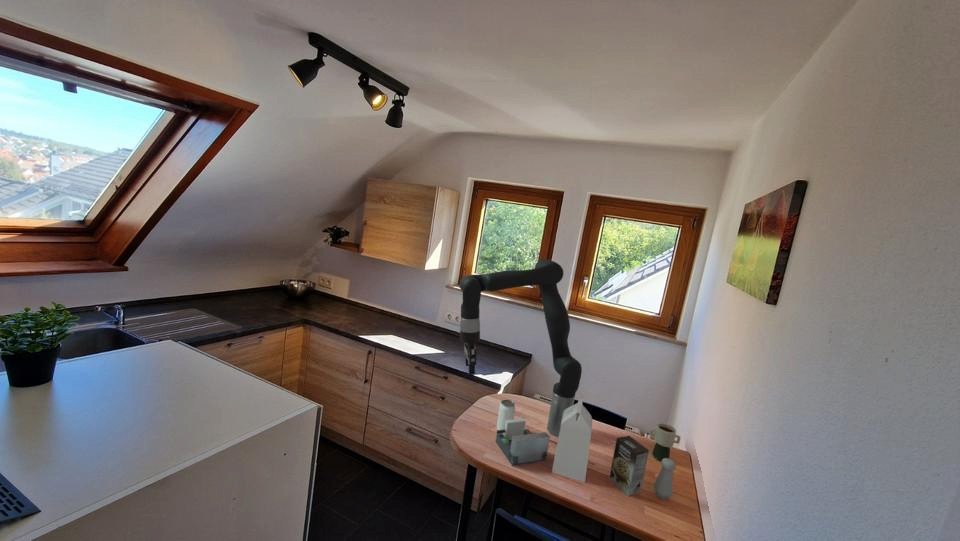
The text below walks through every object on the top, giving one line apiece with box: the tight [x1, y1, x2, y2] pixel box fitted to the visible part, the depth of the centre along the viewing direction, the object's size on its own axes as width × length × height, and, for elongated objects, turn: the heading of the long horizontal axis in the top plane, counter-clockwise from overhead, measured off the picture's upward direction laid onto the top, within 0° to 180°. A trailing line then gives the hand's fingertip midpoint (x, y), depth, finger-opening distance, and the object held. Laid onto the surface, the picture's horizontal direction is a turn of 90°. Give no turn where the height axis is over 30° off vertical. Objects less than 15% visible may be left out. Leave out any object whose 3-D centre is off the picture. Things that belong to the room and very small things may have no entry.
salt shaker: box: [653, 458, 676, 500], centre depth 132 cm, size 6×6×13 cm
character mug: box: [649, 422, 681, 461], centre depth 154 cm, size 11×7×13 cm, turn 68°
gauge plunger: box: [496, 417, 526, 441], centre depth 153 cm, size 12×2×8 cm, turn 112°
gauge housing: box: [495, 428, 551, 467], centre depth 148 cm, size 14×15×10 cm
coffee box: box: [608, 435, 650, 497], centre depth 134 cm, size 9×6×16 cm
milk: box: [551, 397, 593, 483], centre depth 140 cm, size 12×12×26 cm
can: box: [496, 399, 516, 434], centre depth 161 cm, size 6×6×12 cm
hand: (470, 369), depth 149 cm, fingers open, 8 cm apart
